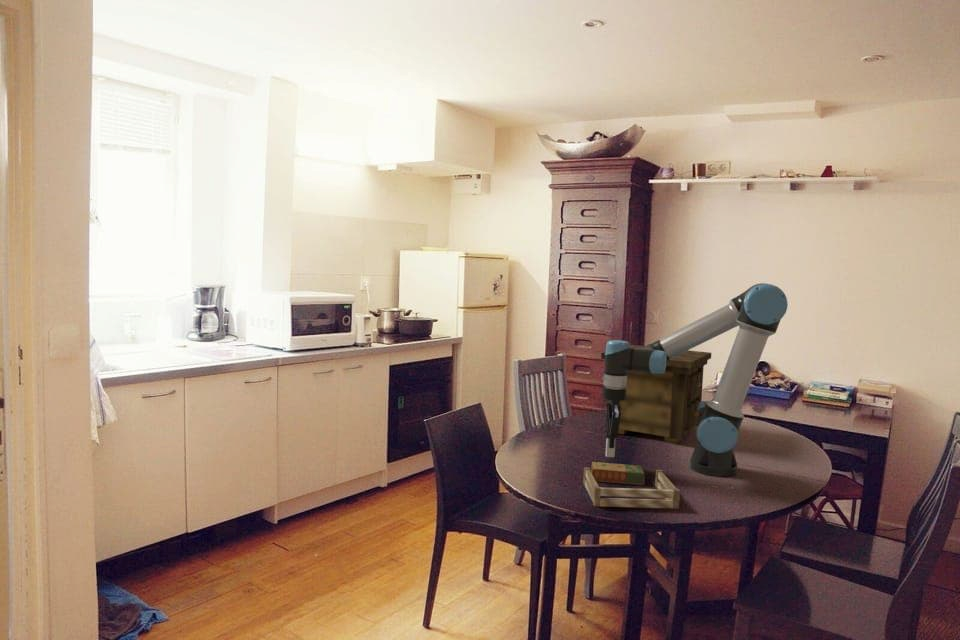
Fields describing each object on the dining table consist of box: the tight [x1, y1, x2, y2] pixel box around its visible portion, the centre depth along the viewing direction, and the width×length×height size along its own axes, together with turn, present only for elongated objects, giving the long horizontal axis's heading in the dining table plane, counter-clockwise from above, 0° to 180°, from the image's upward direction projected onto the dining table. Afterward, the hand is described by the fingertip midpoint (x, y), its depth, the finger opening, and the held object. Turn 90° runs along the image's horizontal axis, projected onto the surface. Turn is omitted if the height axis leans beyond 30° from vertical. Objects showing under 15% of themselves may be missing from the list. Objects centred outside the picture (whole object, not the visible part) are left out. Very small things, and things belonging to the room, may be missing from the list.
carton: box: [590, 461, 645, 486], centre depth 202 cm, size 8×16×4 cm, turn 82°
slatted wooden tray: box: [582, 466, 681, 510], centre depth 187 cm, size 24×18×5 cm
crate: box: [600, 344, 712, 445], centre depth 261 cm, size 35×35×33 cm
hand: (609, 456), depth 213 cm, fingers closed
